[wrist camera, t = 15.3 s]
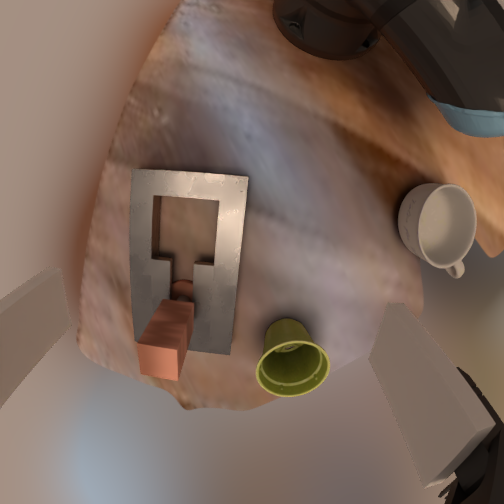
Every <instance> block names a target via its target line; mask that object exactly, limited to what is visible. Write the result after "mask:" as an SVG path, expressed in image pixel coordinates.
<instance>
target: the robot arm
mask: <svg viewBox="0 0 504 504" xmlns="http://www.w3.org/2000/svg"><path fill="white" fill-rule="evenodd" d="M273 16H274V20H275V22H276V24H277V26H278V28H279V30H280V31H281V32H282V34H283V35H284V36H285V37H286V38H287V39H288V40H289V41H290V42H291V43H293V44H294V45H295V46H297V47H298V48H300V49H302V50H303V51H305V52H307V53H310V54H312V55H315V56H317V57H321V58H325V59H330V60H349V59H354V58H357V57H359V56H362V55H363V54H365V53H366V52H368V51H369V50H370V49H371V48H372V47H373V46H375V44H376V43H377V42H378V41H379V39H380V37H381V35H383V36H384V37H385V39H386V40H387V41H388V42H389V43H390V44H391V46H392V47H393V48H394V49H395V50H396V52H397V53H398V54H399V55H400V57H401V58H402V59H403V60H404V62H405V63H406V64H407V66H408V67H409V68H410V70H411V71H412V72H413V74H414V75H415V76H416V78H417V79H418V81H419V82H420V84H421V85H422V86H423V88H424V89H425V91H426V94H427V96H428V98H429V99H430V100H431V101H432V102H433V103H435V105H436V106H437V107H438V109H439V110H440V112H441V113H442V115H443V116H444V118H445V119H446V121H447V122H448V123H449V125H450V126H451V127H453V128H454V129H455V130H457V131H459V132H462V133H463V134H465V135H469V136H474V137H484V138H488V137H500V136H504V0H274V3H273ZM71 326H72V324H71V319H70V315H69V310H68V305H67V300H66V294H65V289H64V283H63V277H62V270H61V269H58V268H52V267H48V268H46V269H45V270H43V271H42V272H40V273H39V274H37V275H36V276H34V277H33V278H31V279H30V280H28V281H27V282H25V283H24V284H22V285H21V286H19V287H18V288H17V289H15V290H14V291H12V292H11V293H10V294H8V295H7V296H5V297H4V298H3V299H1V300H0V408H1V407H2V405H3V404H4V403H5V402H6V401H7V399H8V398H9V397H10V396H11V394H12V393H13V392H14V391H15V389H16V388H17V387H18V386H19V385H20V383H21V382H22V381H23V380H24V379H25V377H26V376H27V375H28V374H29V373H30V371H31V370H32V369H33V368H34V367H35V366H36V364H37V363H38V362H39V361H40V360H41V359H42V358H43V356H44V355H45V354H46V353H47V352H48V351H49V350H50V348H52V346H53V345H54V344H55V343H56V342H57V341H58V340H59V339H60V338H61V336H62V335H63V334H64V333H65V332H66V331H67V330H68V329H69V328H70V327H71ZM369 361H370V363H371V365H372V368H373V370H374V372H375V374H376V376H377V378H378V380H379V383H380V384H381V387H382V389H383V391H384V394H385V396H386V398H387V400H388V402H389V405H390V407H391V409H392V412H393V414H394V416H395V418H396V421H397V423H398V426H399V428H400V430H401V433H402V435H403V438H404V440H405V442H406V445H407V447H408V450H409V452H410V455H411V457H412V460H413V462H414V465H415V467H416V470H417V473H418V475H419V478H420V481H421V483H422V486H423V488H427V487H430V486H433V485H436V484H439V483H442V482H444V481H445V480H446V479H447V478H448V477H449V476H450V475H451V474H452V473H453V472H455V474H456V476H457V478H456V479H455V480H454V481H453V482H452V483H451V484H450V485H448V486H447V487H446V488H445V489H444V490H443V491H441V493H440V494H439V496H438V497H442V496H443V495H444V494H445V493H447V492H448V491H449V493H448V495H447V496H446V497H445V499H446V501H445V504H504V423H503V422H502V421H501V419H500V418H499V416H498V415H497V413H496V412H495V410H494V409H493V407H492V406H491V405H490V403H489V402H488V400H487V399H486V398H485V396H484V395H483V396H482V392H481V391H480V389H479V388H478V387H476V384H475V383H474V382H473V380H472V379H471V377H470V376H469V375H468V374H466V373H465V372H464V371H462V370H461V369H460V368H459V367H455V366H454V364H453V363H452V362H451V360H450V359H449V358H448V356H447V355H446V354H445V352H444V351H443V350H442V349H441V347H440V346H439V345H438V344H437V342H436V341H435V340H434V339H433V337H432V336H431V335H430V334H429V333H428V332H427V330H426V329H425V328H424V327H423V325H422V324H421V323H420V322H419V321H418V319H417V318H416V317H415V316H414V315H413V313H412V312H411V311H410V310H409V309H408V308H407V306H406V305H405V304H404V303H387V306H386V309H385V312H384V316H383V319H382V322H381V325H380V328H379V331H378V334H377V337H376V340H375V342H374V345H373V348H372V351H371V353H370V356H369Z"/></svg>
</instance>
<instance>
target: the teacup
mask: <svg viewBox="0 0 504 504" xmlns="http://www.w3.org/2000/svg"><path fill="white" fill-rule="evenodd" d="M476 224H477V220H476V210H475V207H474V203H473V201H472V199H471V197H470V196H469V194H468V193H467V192H466V191H465V190H464V189H463V188H462V187H460V186H458V185H455V184H436V183H428V184H423V185H419V186H417V187H415V188H414V189H412V190H411V191H410V192H409V193H408V194H407V195H406V197H405V198H404V200H403V202H402V204H401V207H400V210H399V215H398V228H399V233H400V236H401V239H402V241H403V243H404V244H405V246H406V247H407V248H408V249H409V250H410V251H411V252H412V253H414V254H415V255H416V256H418V257H420V258H422V259H423V260H425V261H427V262H428V263H430V264H431V265H433V266H435V267H437V268H445V269H446V270H447V272H448V273H449V274H450V275H451V276H452V277H454V278H459V277H461V276H462V275H463V273H464V265H463V263H462V261H461V260H462V259H463V258H464V256H465V255H466V254H467V252H468V250H469V249H470V247H471V245H472V243H473V240H474V237H475V232H476Z"/></svg>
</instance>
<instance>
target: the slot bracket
mask: <svg viewBox="0 0 504 504" xmlns="http://www.w3.org/2000/svg"><path fill="white" fill-rule="evenodd" d="M248 178H249V176H242V175H232V174H214V173H202V172H189V171H173V170H163V169H145V168H140V169H132V177H131V196H130V283H131V301H132V315H133V327H134V337H135V341H136V342H138V341H139V339H140V337H141V335H142V334H143V332H144V330H145V328H146V327H147V325H148V323H149V322H150V320H151V318H152V316H153V315H154V313H155V311H156V310H157V308H158V306H159V305H160V303H161V301H162V300H163V299H168V300H172V260H173V258H165V257H159V230H160V207H161V196H174V197H186V198H198V199H209V200H220V202H219V213H218V224H217V235H216V248H215V260H214V263H210V262H201V261H195V263H194V271H193V295H192V303H194V327H193V333H192V336H191V340H190V343H189V346H188V349H187V350H191V351H199V352H207V353H215V354H225V355H230V351H231V340H232V330H233V320H234V310H235V300H236V290H237V280H238V270H239V261H240V251H241V242H242V233H243V223H244V214H245V205H246V196H247V187H248Z"/></svg>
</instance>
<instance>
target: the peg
mask: <svg viewBox="0 0 504 504" xmlns="http://www.w3.org/2000/svg"><path fill="white" fill-rule="evenodd" d="M192 295H193V281H190V280H178V281H176V282H174V283H172V300H168V299H163V300H162V301H161V303H160V305H159V306H158V308H157V310H156V311H155V313H154V315H153V316H152V318H151V320H150V322H149V323H148V325H147V327H146V328H145V330H144V332H143V334H142V335H141V337H140V339H139V341H138V343H137V347H138V356H139V364H140V372H141V374H143V375H148V376H154V377H159V378H165V379H171V380H177V381H178V380H179V376H180V373H181V369H182V366H183V363H184V359H185V356H186V353H187V349H188V346H189V343H190V340H191V336H192V333H193V327H194V303H192Z"/></svg>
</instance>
